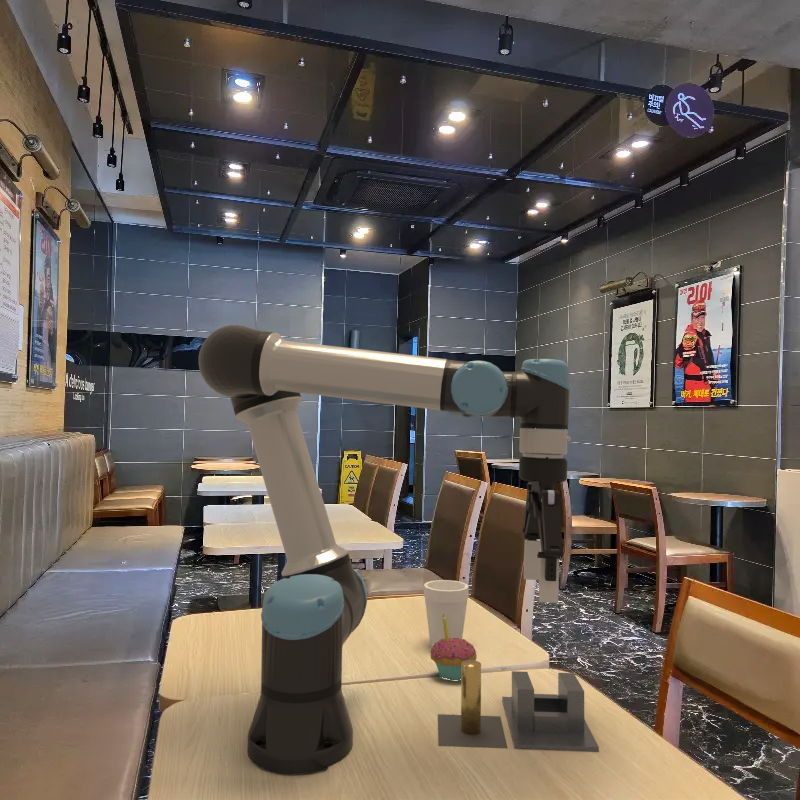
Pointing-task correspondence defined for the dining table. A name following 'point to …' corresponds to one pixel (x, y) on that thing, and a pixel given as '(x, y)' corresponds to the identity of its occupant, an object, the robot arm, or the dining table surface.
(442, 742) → the mat
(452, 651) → the cupcake
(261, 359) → the robot arm
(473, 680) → the peg
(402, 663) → the dining table surface
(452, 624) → the foam cup
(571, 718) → the bracket
